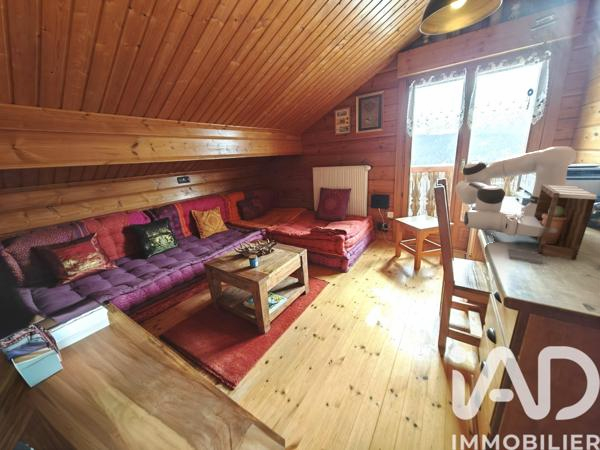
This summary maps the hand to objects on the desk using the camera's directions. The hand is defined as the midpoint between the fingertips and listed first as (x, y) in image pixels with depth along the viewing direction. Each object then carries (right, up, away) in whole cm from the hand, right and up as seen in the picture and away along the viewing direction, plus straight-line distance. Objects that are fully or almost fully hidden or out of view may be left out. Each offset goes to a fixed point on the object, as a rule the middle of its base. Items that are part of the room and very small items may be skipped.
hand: (554, 227), depth 94 cm
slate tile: (-18, -11, -6) cm, 22 cm away
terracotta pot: (-1, -6, +2) cm, 6 cm away
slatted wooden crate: (0, -7, +3) cm, 8 cm away
